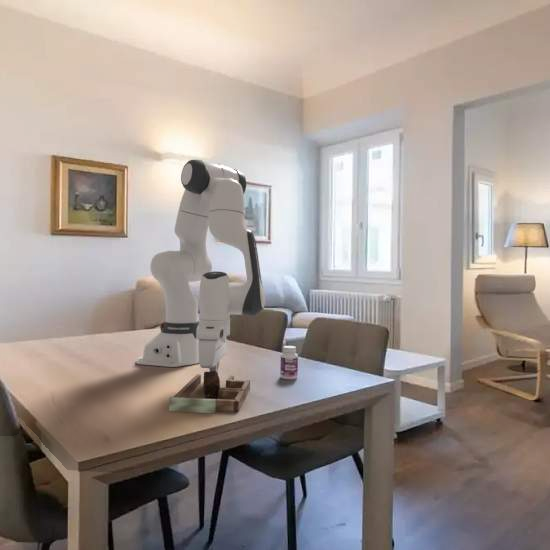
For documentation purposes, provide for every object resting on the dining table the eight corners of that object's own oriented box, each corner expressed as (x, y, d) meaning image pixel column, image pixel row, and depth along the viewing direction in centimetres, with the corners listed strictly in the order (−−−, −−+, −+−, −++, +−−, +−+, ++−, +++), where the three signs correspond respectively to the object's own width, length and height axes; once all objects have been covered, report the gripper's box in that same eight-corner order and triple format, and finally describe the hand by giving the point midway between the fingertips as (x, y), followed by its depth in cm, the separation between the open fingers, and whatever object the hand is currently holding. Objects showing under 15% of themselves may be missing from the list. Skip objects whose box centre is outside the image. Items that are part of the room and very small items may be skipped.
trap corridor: (168, 411, 111) (169, 398, 110) (196, 382, 136) (196, 372, 136) (237, 414, 109) (237, 401, 109) (252, 384, 135) (252, 374, 135)
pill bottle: (285, 380, 141) (286, 348, 140) (277, 376, 145) (277, 345, 145) (300, 378, 143) (301, 347, 143) (292, 374, 148) (292, 344, 147)
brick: (203, 387, 131) (203, 371, 131) (217, 387, 132) (217, 370, 132) (204, 399, 121) (205, 381, 121) (220, 398, 122) (220, 380, 121)
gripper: (211, 323, 143) (211, 367, 144) (194, 334, 123) (194, 385, 124) (231, 323, 143) (231, 368, 143) (217, 334, 123) (217, 386, 123)
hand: (214, 376), depth 133 cm, fingers closed
